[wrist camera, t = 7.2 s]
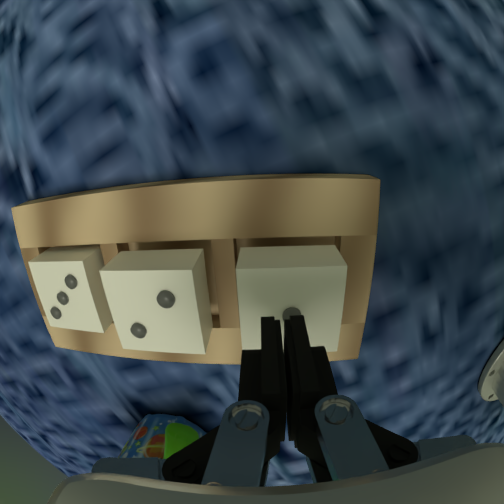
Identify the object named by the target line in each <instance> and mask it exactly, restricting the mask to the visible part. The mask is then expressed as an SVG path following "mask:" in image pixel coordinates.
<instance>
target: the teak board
mask: <svg viewBox="0 0 504 504" xmlns="http://www.w3.org/2000/svg"><path fill="white" fill-rule="evenodd" d="M379 197H380V179H378V178H375V177H373V176H370V175H364V174H264V175H239V176H221V177H206V178H192V179H180V180H169V181H159V182H149V183H140V184H132V185H124V186H116V187H109V188H102V189H95V190H88V191H82V192H75V193H69V194H64V195H58V196H52V197H47V198H42V199H37V200H32V201H27V202H25V203H22V204H20V205H17V206H15V207H13V208H11V209H12V214H13V219H14V224H15V228H16V233H17V237H18V241H19V245H20V249H21V253H22V256H23V260H24V263H25V267H26V270H27V273H28V277H29V280H30V283H31V286H32V289H33V292H34V295H35V297H36V300H37V303H38V306H39V308H40V311H41V314H42V316H43V319H44V321H45V324H46V326H47V328H48V331H49V333H50V335H51V338H52V340H53V342H54V344H55V346H56V347H61V348H66V349H72V350H78V351H84V352H90V353H97V354H104V355H111V356H119V357H127V358H136V359H146V360H157V361H170V362H185V363H206V364H241V354H242V341H241V329H240V317H239V305H238V292H237V279H236V266H237V261H238V257H239V252H240V247H274V246H311V245H335V246H336V248H337V249H338V251H339V252H340V254H341V256H342V257H343V259H344V261H345V262H346V264H347V277H346V287H345V296H344V304H343V313H342V320H341V328H340V335H339V342H338V348H337V351H335V352H327V356H328V359H329V361H337V360H348V359H358V355H359V350H360V345H361V340H362V335H363V330H364V325H365V319H366V314H367V308H368V301H369V295H370V288H371V281H372V274H373V266H374V257H375V248H376V238H377V227H378V214H379ZM86 245H100V246H101V251H102V255H103V260H104V264H105V265H106V264H107V263H108V262H109V261H111V260H112V259H113V258H114V257H115V256H116V255H117V254H118V253H120V252H121V251H142V250H172V249H203V251H204V260H205V268H206V277H207V285H208V293H209V300H210V308H211V315H212V323H213V327H212V331H211V335H210V339H209V343H208V346H207V350H206V354H185V353H168V352H154V351H142V350H132V349H123V347H122V345H121V342H120V339H119V336H118V333H117V330H116V327H115V324H114V321H113V322H112V323H111V324H110V326H109V327H108V329H107V330H106V331H105V333H98V332H90V331H81V330H73V329H66V328H59V327H52V326H50V324H49V321H48V319H47V316H46V314H45V311H44V309H43V306H42V303H41V300H40V298H39V295H38V292H37V289H36V286H35V283H34V280H33V277H32V273H31V270H30V267H29V263H28V262H29V261H30V260H32V259H33V258H35V257H36V256H38V255H39V254H41V253H42V252H44V251H46V250H47V249H49V248H50V247H66V246H86Z"/></svg>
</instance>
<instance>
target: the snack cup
mask: <svg viewBox="0 0 504 504" xmlns="http://www.w3.org/2000/svg"><path fill="white" fill-rule="evenodd" d="M205 434H207V432H204V431H203V429H201V428H200V427H199V426H197V425H195V424H194V423H192V422H190V421H188V420H186V419H185V418H184V417H182V416H173V415H168V414H154V415H151V414H148V415H146V416H145V417H144V418H143V419H142V420H141V421H140V422H139V424H138V425H137V427H136V428H135V430H134V431H133V433H132V435H131V436H130V438H129V440H128V441H127V443H126V445H125V446H124V448H123V450H122V451H121V453H120V455H119V456H118V458H144V457H158V459H167V458H168V457H170V456H171V455H172V454H174V453H176V452H178V451H179V450H181V449H183V448H184V447H186V446H188V445H189V444H191V443H192V442H194V441H196V440H197V439H199V438H200V437H202V436H204V435H205Z"/></svg>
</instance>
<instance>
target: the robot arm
mask: <svg viewBox="0 0 504 504" xmlns="http://www.w3.org/2000/svg"><path fill="white" fill-rule="evenodd" d="M478 391H479V393H480V395H481V397H482V398H483V399H484V400H486V401H494V400H497V399H499V401H500V402H501V404H502V405H503V407H504V340H503V341H502V342H501V344H500V345H499V346H498V348H497V349H496V350H495V352H494V353H493V355H492V356H491V358H490V359H489V361H488V362H487V364H486V366H485V368H484V370H483V372H482V375H481V377H480V380H479V384H478ZM286 412H287V424H288V437H289V441H294V443H295V448H297V449H298V451H300V452H301V453H303V454H304V455H306V461H307V464H308V468H309V471H310V474H311V477H312V480H313V484H303V485H291V486H272V487H265V486H266V481H267V475H268V470H269V464H270V459H271V458H272V457H274V456H275V455H276V454H277V453H278V452H279V451H280V441H284V440H285V426H286ZM47 504H504V444H502V443H481V444H476V442H475V440H474V439H473V438H472V437H470V436H467V435H458V436H451V437H442V438H433V439H422V440H418V442H411V441H410V440H408V439H406V438H404V437H402V436H399V435H397V434H395V433H393V432H391V431H389V430H387V429H384V428H382V427H380V426H378V425H376V424H374V423H372V422H370V421H368V420H366V419H364V417H363V415H362V413H361V411H360V409H359V407H358V405H357V404H356V403H355V401H353V400H352V399H351V398H349V397H346V396H344V395H338V393H337V389H336V386H335V382H334V378H333V374H332V371H331V367H330V363H329V359H328V356H327V352H326V349H325V347H324V346H315V347H311V346H310V341H309V337H308V333H307V328H306V324H305V319H304V315H292V316H289V319H284V352H283V343H282V333H281V324H280V320H275V317H274V316H268V317H261V349H252V350H242V354H241V368H240V382H239V397H238V402H235V403H233V404H231V405H230V406H229V407H228V408H227V409H226V410H225V412H224V414H223V417H222V420H221V424H220V425H219V426H217V427H216V428H214V429H213V430H211V431H210V432H208V433H207V434H205V435H204V436H202V437H200V438H199V439H197V440H196V441H194V442H192V443H191V444H189V445H188V446H186V447H184V448H183V449H181V450H179V451H178V452H176V453H174V454H172V455H171V456H170V457H168V458H167V459H158V457H144V458H113V457H108V458H102V459H100V460H98V461H97V462H96V463H95V464H94V465H93V468H92V471H91V473H86V474H79V475H74V476H71V477H68V478H66V479H64V480H63V481H62V482H61V483H60V484H59V485H58V486H57V487H56V489H55V490H54V492H53V493H52V495H51V497H50V499H49V500H48V503H47Z"/></svg>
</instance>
